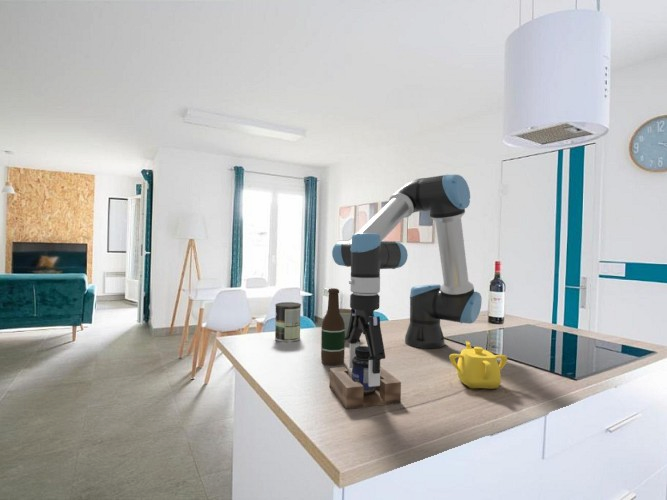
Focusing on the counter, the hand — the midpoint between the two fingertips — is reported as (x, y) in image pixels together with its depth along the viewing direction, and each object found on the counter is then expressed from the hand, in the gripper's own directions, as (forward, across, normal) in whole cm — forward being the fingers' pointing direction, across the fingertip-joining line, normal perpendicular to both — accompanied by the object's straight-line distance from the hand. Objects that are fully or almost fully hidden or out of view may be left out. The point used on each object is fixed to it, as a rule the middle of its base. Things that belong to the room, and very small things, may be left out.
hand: (363, 376), depth 94 cm
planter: (+5, -58, +13) cm, 60 cm away
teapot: (+5, +1, +34) cm, 34 cm away
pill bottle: (+4, 0, 0) cm, 4 cm away
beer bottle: (+5, -27, 0) cm, 27 cm away
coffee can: (+5, -60, -9) cm, 61 cm away
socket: (+5, 0, 0) cm, 5 cm away
